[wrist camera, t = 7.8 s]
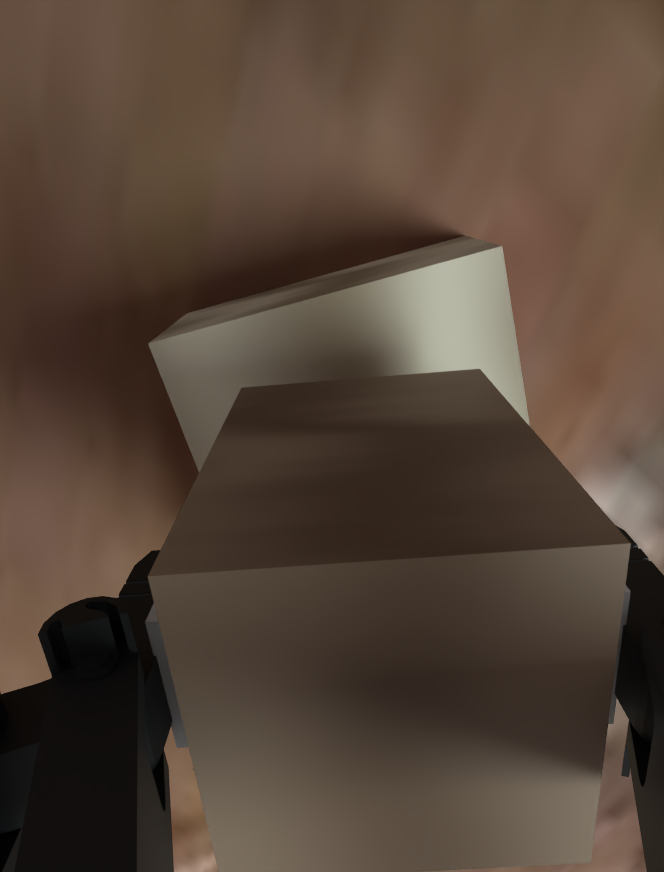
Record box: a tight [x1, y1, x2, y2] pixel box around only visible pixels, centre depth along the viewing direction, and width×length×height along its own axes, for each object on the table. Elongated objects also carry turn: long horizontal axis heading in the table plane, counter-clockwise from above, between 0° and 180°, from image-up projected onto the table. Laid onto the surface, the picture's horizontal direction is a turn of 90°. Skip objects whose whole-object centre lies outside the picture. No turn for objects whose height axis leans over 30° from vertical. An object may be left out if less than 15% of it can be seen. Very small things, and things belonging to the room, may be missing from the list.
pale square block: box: [148, 236, 530, 472], centre depth 20 cm, size 10×10×5 cm
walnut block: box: [148, 369, 631, 872], centre depth 12 cm, size 6×6×8 cm
